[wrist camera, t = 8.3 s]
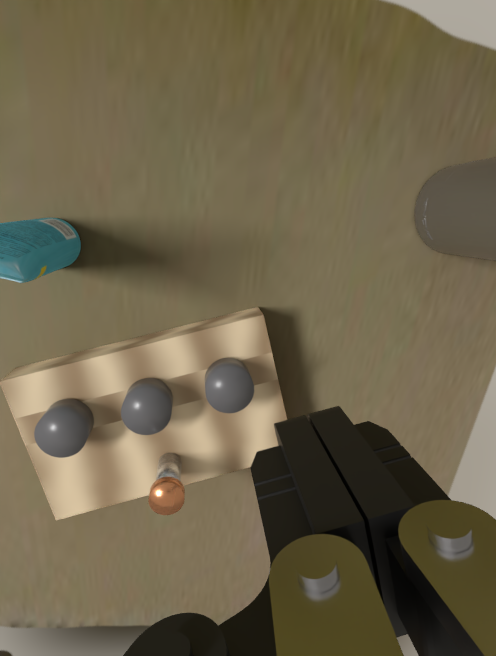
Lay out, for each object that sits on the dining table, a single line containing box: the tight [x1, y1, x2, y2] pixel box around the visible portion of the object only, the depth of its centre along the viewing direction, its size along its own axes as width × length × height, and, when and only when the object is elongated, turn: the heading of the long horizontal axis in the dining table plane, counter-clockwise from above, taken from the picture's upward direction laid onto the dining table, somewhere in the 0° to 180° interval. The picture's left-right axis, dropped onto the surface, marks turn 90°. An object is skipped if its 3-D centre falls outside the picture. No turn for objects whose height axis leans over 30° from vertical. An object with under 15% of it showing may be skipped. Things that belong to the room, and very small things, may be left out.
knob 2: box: [205, 358, 254, 413], centre depth 44 cm, size 5×5×7 cm
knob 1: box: [34, 399, 94, 458], centre depth 43 cm, size 5×5×7 cm
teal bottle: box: [0, 218, 81, 283], centre depth 33 cm, size 7×5×19 cm, turn 80°
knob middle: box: [121, 378, 173, 435], centre depth 44 cm, size 5×5×7 cm
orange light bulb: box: [149, 453, 185, 515], centre depth 43 cm, size 3×3×6 cm
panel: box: [0, 307, 287, 520], centre depth 46 cm, size 26×16×4 cm, turn 103°
